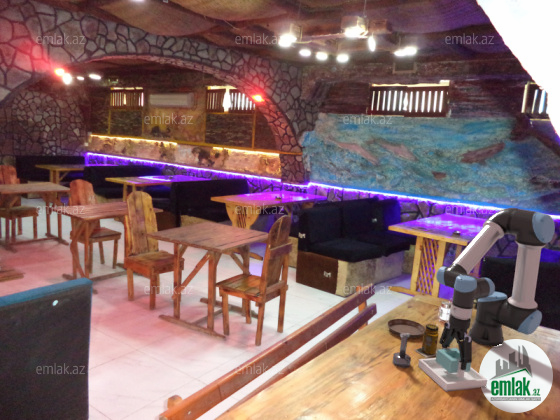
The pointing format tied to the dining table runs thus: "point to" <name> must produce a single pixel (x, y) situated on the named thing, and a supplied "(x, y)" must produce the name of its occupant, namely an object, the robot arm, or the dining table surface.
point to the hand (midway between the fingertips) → (451, 369)
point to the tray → (451, 376)
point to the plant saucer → (406, 327)
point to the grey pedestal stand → (402, 353)
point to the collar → (450, 359)
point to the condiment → (429, 341)
